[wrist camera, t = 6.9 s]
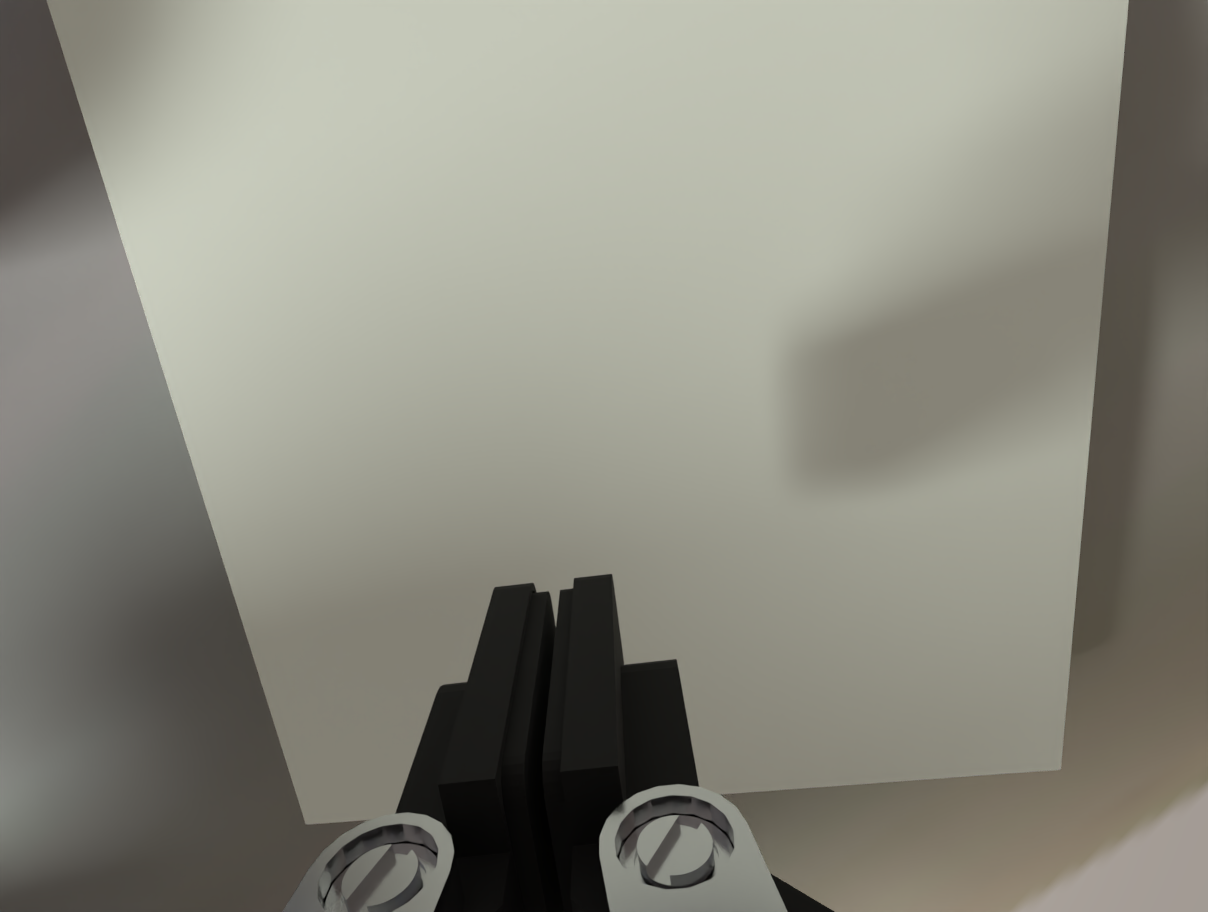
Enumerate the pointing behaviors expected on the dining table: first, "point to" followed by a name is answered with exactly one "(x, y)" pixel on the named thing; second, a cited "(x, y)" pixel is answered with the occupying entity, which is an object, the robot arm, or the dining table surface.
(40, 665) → the dining table surface
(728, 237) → the hole board
